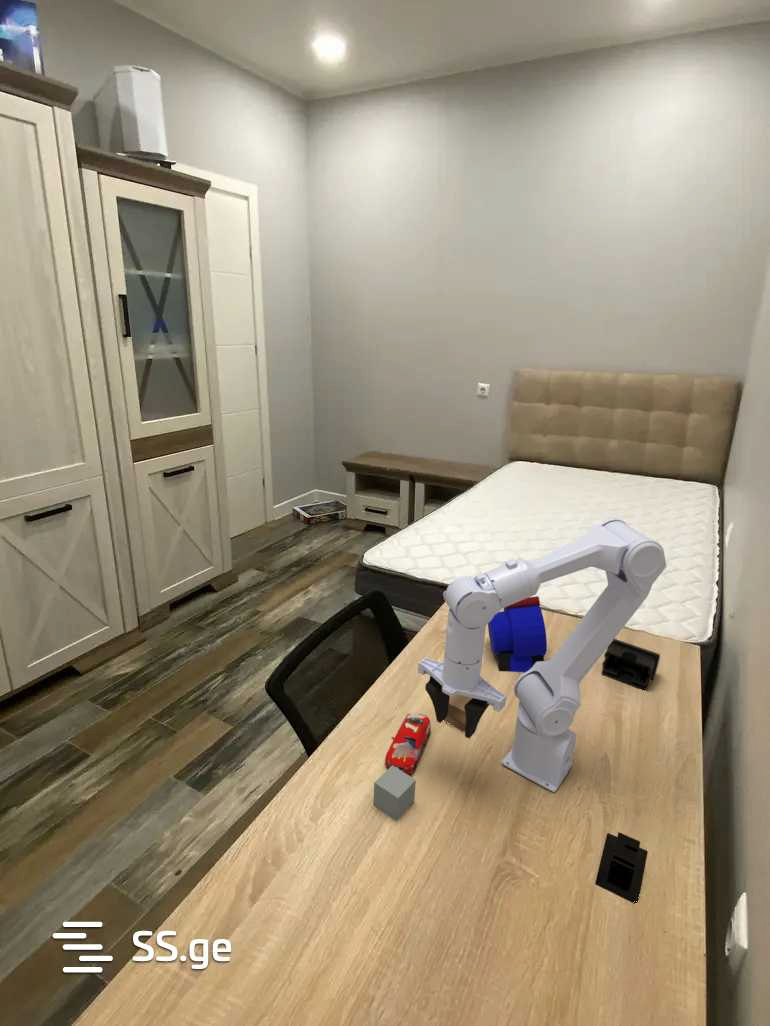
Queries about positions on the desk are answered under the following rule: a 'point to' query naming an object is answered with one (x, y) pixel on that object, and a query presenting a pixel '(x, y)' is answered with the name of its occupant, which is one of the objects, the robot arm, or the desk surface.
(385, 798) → the slate block
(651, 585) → the robot arm
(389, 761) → the race car
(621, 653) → the black slotted holder
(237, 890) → the desk surface
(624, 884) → the black open box
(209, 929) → the desk surface
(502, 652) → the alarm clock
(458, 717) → the walnut block
